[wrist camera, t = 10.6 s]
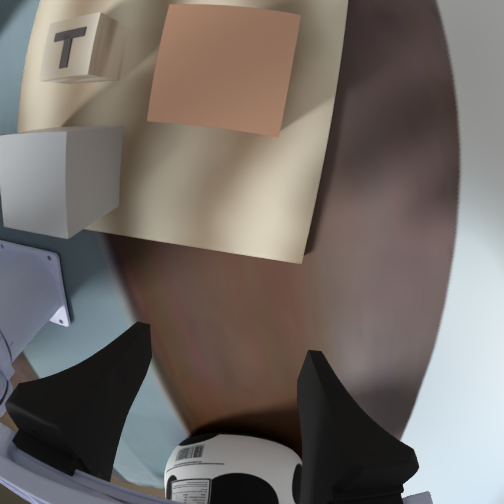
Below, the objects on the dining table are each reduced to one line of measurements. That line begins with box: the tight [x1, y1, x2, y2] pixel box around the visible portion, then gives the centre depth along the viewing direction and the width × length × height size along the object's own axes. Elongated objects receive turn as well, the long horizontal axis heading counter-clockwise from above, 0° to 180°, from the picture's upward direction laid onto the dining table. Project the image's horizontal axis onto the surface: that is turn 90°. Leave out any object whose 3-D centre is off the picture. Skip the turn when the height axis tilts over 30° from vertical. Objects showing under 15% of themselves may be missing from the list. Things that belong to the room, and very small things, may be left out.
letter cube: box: [39, 12, 129, 84], centre depth 14 cm, size 4×4×4 cm
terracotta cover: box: [147, 4, 301, 138], centre depth 13 cm, size 6×6×6 cm
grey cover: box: [0, 126, 124, 239], centre depth 16 cm, size 6×6×6 cm
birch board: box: [17, 0, 348, 264], centre depth 17 cm, size 24×20×1 cm
